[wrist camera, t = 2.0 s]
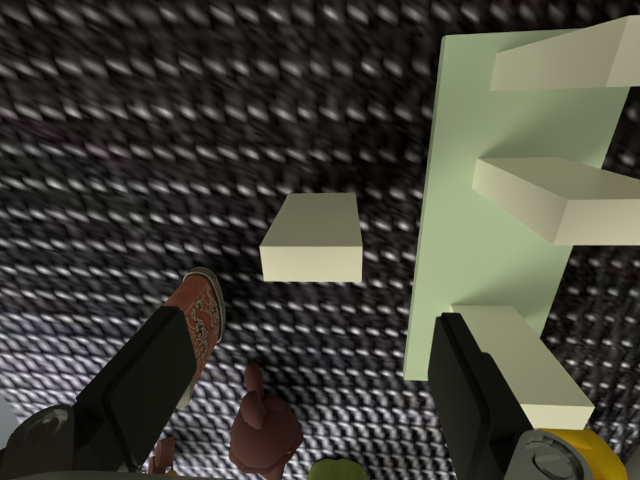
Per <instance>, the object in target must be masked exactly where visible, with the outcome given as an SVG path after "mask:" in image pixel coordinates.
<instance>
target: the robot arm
mask: <svg viewBox="0 0 640 480" xmlns="http://www.w3.org/2000/svg"><path fill="white" fill-rule="evenodd" d="M196 370H197V361H196V357H195V353H194V349H193V345H192V341H191V337H190V334H189V330H188V326H187V322H186V318H185V314H184V312H183V311H182V310H180V308H179V307H178V306H161V307H160V308H159V309H158V310H157V311H156V312H155V313H154V314H153V315H152V316H151V317H150V318H149V319H148V320H147V321H146V323H145V324H144V325H143V326H142V327H141V328H140V329H139V330H138V331H137V332H136V333H135V334H134V335H133V337H132V338H131V339H130V340H129V341H128V342H127V343H126V344H125V345H124V346H123V347H122V348H121V349H120V351H119V352H118V353H117V354H116V355H115V356H114V357H113V358H112V359H111V360H110V361H109V362H108V363H107V365H106V366H105V367H104V368H103V369H102V370H101V371H100V372H99V373H98V374H97V375H96V376H95V378H94V379H93V380H92V381H91V382H90V383H89V384H88V385H87V386H86V387H85V388H84V389H83V390H82V392H81V393H80V394H79V395H78V396H77V397H76V400H77V402H76V403H75V404H74V405H73V406H72V407H71V406H69V405H64V404H61V405H54V406H51V407H48V408H45V409H43V410H41V411H39V412H37V413H35V414H34V415H32V416H31V417H29V418H28V419H26V420H25V421H24V422H23V423H21V424H20V425H19V426H18V427H17V428H16V429H15V431H14V432H13V433H12V434H11V436H10V437H9V439H8V442H7V444H6V448H4V449H2V450H0V480H235V479H221V478H207V477H192V476H176V475H161V474H146V473H135V472H136V470H137V468H138V466H141V465H143V464H144V463H145V461H146V459H147V458H148V456H149V454H150V452H151V451H152V449H153V447H154V445H155V444H156V442H157V440H158V438H159V436H160V435H161V433H162V431H163V429H164V428H165V426H166V424H167V422H168V421H169V419H170V417H171V415H172V413H173V412H174V410H175V408H176V406H177V405H178V403H179V401H180V399H181V398H182V396H183V394H184V392H185V390H186V389H187V387H188V385H189V383H190V382H191V380H192V378H193V376H194V375H195V373H196ZM427 376H428V383H429V386H430V390H431V393H432V396H433V400H434V403H435V406H436V410H437V413H438V416H439V420H440V423H441V426H442V430H443V433H444V437H445V440H446V443H447V447H448V450H449V453H450V457H451V460H452V463H453V467H454V470H455V473H456V477H457V480H593V475H592V471H591V469H590V467H589V465H588V463H587V462H586V460H585V459H584V458H583V456H582V455H581V454H580V453H579V452H578V451H577V450H576V449H575V448H574V447H573V446H572V445H571V444H569V443H568V442H566V441H565V440H563V439H562V438H560V437H559V436H556V435H554V434H552V433H550V432H546V431H542V430H535V429H534V428H533V426H532V424H531V423H530V421H529V419H528V417H527V416H526V414H525V412H524V411H523V409H522V407H521V405H520V404H519V402H518V400H517V399H516V397H515V395H514V393H513V392H512V390H511V388H510V387H509V385H508V383H507V381H506V380H505V378H504V376H503V375H502V373H501V371H500V369H499V368H498V366H497V364H496V363H495V361H494V359H493V358H492V356H491V355H490V354H489V353H487V352H482V351H481V349H480V348H479V346H478V344H477V342H476V340H475V339H474V337H473V335H472V333H471V331H470V330H469V328H468V326H467V324H466V322H465V320H464V319H463V317H462V315H461V314H460V313H455V312H443V313H442V314H441V316H437V317H436V319H435V326H434V332H433V339H432V346H431V352H430V359H429V365H428V373H427Z"/></svg>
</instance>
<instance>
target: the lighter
mask: <svg viewBox="0 0 640 480" xmlns="http://www.w3.org/2000/svg"><path fill="white" fill-rule="evenodd" d="M163 306H178V307H179V308H180V310H182V311H183V312H184V314H185V318H186V322H187V326H188V330H189V334H190V337H191V341H192V345H193V349H194V353H195V357H196V361H197V370H196V373H195V375H194V376H193V378H192V380H191V382H190V383H189V385H188V387H187V389H186V390H185V392H184V394H183V396H182V398H181V399H180V401H179V403H178V405H177V406H176V408H182V407H185V406H187V405H188V404H189V402H190V400H191V398H192V396H193V393H194V386H195V384H196V382H197V380H198V378H199V376H200V374H201V372H202V370H203V369H204V367H205V365H206V363H207V361H208V359H209V357H210V355H211V353H212V351H213V349H214V347H215V345H216V343H218V342H219V341H220V340H221V338H222V336H223V334H224V331H225V321H226V317H225V304H224V300H223V295H222V291H221V288H220V286H219V283H218V280H217V277H216V276H215V274H214V273H213V272H212V271H211V270H209V269H207V268H203V267H195V268H193V269H191V270H190V271H189V272H188V273H187V274H186V276H185V277H184V279H183V282H182V284H181V285H180V286H179V287H178V288H177V289H176V291H175V292H174V293H173V294H172V295H171V296H170V298H169V299H168V300H167V301H166V302H165V303H164V305H163ZM146 321H147V320H146ZM146 321H145V322H144V323H143V325H144V324H145V323H146ZM143 325H142V326H143ZM142 326H141V327H142ZM141 327H140V328H141ZM140 328H139V329H140ZM139 329H138V330H139ZM138 330H137V331H138ZM171 416H172V415H171ZM170 418H171V417H170ZM169 420H170V419H169ZM167 423H168V422H167ZM166 425H167V424H166ZM165 427H166V426H165ZM164 429H165V428H164ZM164 429H163V430H164Z"/></svg>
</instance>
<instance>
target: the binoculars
mask: <svg viewBox="0 0 640 480" xmlns="http://www.w3.org/2000/svg"><path fill="white" fill-rule="evenodd" d="M174 451H175V440H174V437H173V436H172V437H168V438H165V439H162V440H159V441H158V443H157V447H156V456H153V457H151V458H150V461H149V467H148V474H161V475H176V476H178V475H177V473H176V471H175V470H173V459H174ZM166 467H171V471H169V472H168V473H165V472H166ZM142 472H145V473H146V470H142V465H141V466H138V468H137V470H136V472H135V473H142Z"/></svg>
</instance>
